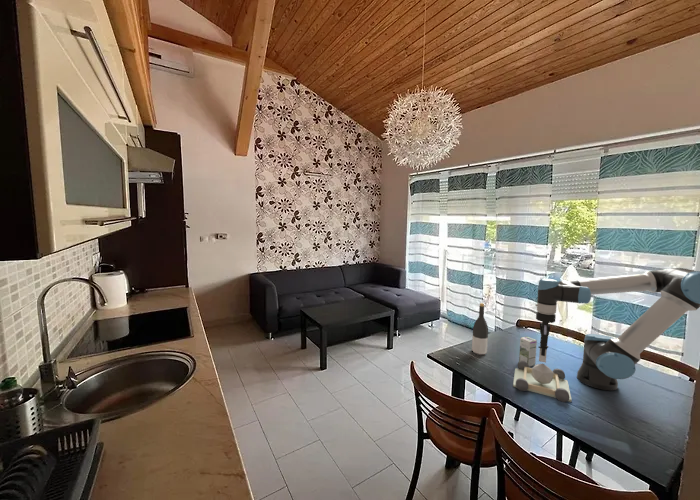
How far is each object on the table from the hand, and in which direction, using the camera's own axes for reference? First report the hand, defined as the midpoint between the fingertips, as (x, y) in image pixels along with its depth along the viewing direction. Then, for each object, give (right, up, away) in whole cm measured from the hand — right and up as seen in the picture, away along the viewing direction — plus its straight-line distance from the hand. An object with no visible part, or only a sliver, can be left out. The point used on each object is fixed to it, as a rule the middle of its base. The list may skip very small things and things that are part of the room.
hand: (542, 361), depth 140 cm
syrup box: (+5, -10, +21) cm, 24 cm away
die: (-1, -11, 0) cm, 11 cm away
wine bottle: (-15, -9, +34) cm, 38 cm away
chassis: (0, -11, +1) cm, 11 cm away
